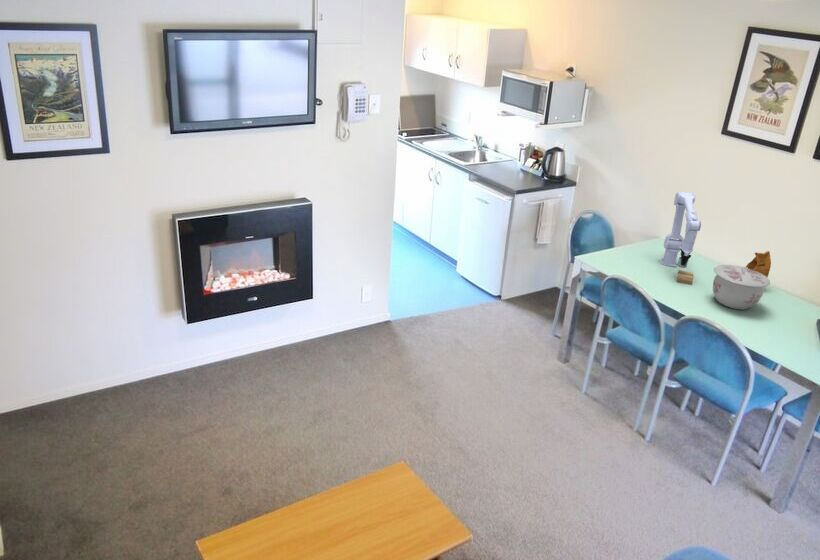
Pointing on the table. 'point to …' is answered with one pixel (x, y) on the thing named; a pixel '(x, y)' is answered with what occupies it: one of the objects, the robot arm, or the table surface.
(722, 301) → the chamber pot
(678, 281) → the walnut slab
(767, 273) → the coffee package
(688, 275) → the oak slab
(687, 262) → the round block
